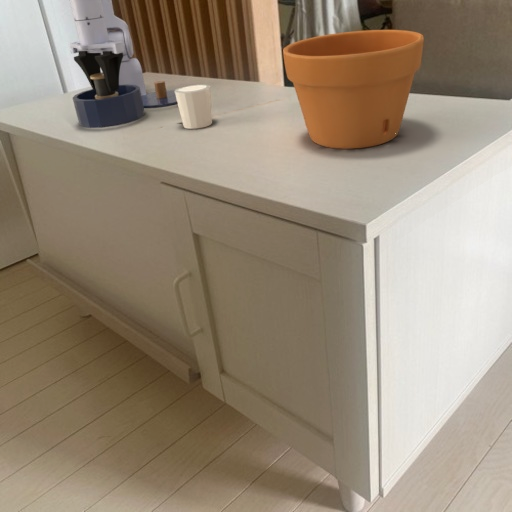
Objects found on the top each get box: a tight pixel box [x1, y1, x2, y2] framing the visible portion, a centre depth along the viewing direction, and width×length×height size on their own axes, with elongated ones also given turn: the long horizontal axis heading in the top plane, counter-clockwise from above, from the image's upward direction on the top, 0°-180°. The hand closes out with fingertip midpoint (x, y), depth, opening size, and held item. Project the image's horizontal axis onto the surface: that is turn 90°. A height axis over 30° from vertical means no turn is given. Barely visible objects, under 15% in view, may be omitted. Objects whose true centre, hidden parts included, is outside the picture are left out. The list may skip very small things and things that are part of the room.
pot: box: [72, 85, 145, 129], centre depth 113 cm, size 14×14×6 cm
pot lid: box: [142, 80, 178, 109], centre depth 125 cm, size 15×15×5 cm
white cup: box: [174, 84, 213, 130], centre depth 104 cm, size 7×7×7 cm
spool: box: [90, 72, 119, 99], centre depth 111 cm, size 5×5×4 cm
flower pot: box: [282, 29, 425, 150], centre depth 86 cm, size 21×21×15 cm
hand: (105, 89), depth 112 cm, fingers closed on spool, 4 cm apart
